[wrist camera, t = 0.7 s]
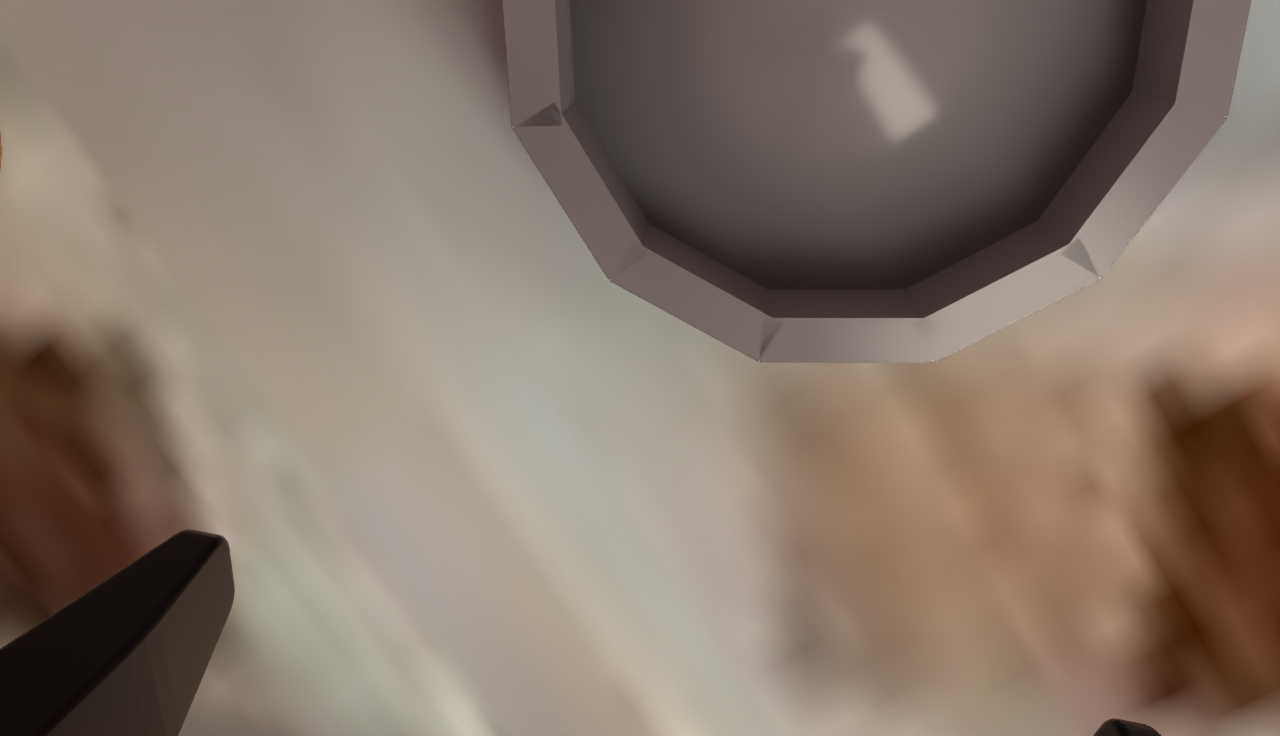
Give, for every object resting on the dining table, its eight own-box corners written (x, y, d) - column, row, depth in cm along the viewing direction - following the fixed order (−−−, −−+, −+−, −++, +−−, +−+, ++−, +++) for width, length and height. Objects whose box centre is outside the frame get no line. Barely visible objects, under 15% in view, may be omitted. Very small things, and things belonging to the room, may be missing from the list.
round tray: (925, 410, 24) (953, 467, 21) (432, 139, 22) (392, 163, 19) (1328, -129, 19) (1434, -147, 16) (734, -530, 17) (738, -627, 14)
